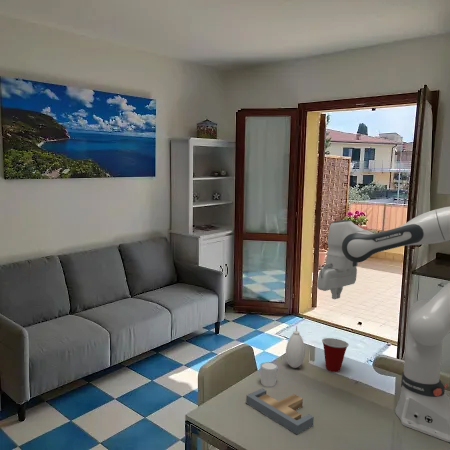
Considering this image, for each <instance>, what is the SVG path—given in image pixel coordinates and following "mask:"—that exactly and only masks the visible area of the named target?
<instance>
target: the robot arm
mask: <svg viewBox="0 0 450 450" xmlns="http://www.w3.org/2000/svg"><path fill="white" fill-rule="evenodd" d="M449 241H450V206H444V207H441V208H436V209H433V210H430V211H426V212H424V213H421V214H419V215H417V216H415V217H413V218H411V219H410V220H408V221H407V222H405V223H403V224H402V225H400V226H398V227H395V228H391V229H387V230H383V231H379V232H376V233H375V232H372V231H370V230H368V229H365V228H362V227H360V226H358V225H357V224H355V223H354V222H353V221H352V220H350V219H340V220H335V221H332V223H330V225H329V229H328V234H327V251H326V260H325V261H326V262H325V263H326V264H324V265H323V266H321V268H320V270H319V272H318V277H317V283H316V287H317V289H318V290H319V291H323V292H327V291H330V293H331V299H332V300H338V299H340V298H341V294H342V292H343V289H344V287H348V286H351V285H354V284H356V281H357V274H358V269H357V267H358V266H359V265H358V264H359V263H362V262H364V261H366V260H368V259H369V258H370V257H371V256H372V255H375V254H377V253H381V252H384V251H388V250H392V249H396V248H400V247H407V246H417V245H419V246H420V245H433V244H439V243H440V244H441V243H444V242H445V243H446V242H449ZM449 334H450V281H449V282H448V283H446V284H445V285H443V286H442V288H441V289H440V290H439V291H437V293H436V294H435V295H434V296H433V297H432V298H430V299H427V298H424V299H423V298H422V299H418V300H417V301H415V302H414V303H413V304H412V305H411V306H410V307H409V309H408V317H407V329H406V339H405V340H406V341H405V343H406V344H405V354H404V355H405V356H404V366H403V370H402V373H401V380H400V387H401V389H400V394H399V395H400V396H399V398H398V402H397V404H396V406H395V409H394V412H395V414H396V416H397V417H398V418H399V419H400V423H401V425H403V426H404V427H407V428H410V429H412V430H415V431H417V432H421V433H424V434H426V435H429V436H431V437H433V438H436V439H440V440H442V441H444V442H447V443H450V397H449V396H448V395H447V394H446V389H447V388H448V387H447V386H448V385H447V383H445V384H443V382H442V381H441V379H440V378H441V371H442V370H441V369H442V360H443V359H442V358H443V340H444V339H445V338H446V337H447V336H448V335H449Z"/></svg>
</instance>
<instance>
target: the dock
mask: <svg viewBox="0 0 450 450" xmlns="http://www.w3.org/2000/svg"><path fill="white" fill-rule="evenodd" d="M265 394H267V390H266V389H265V388H260V389H258V390H255V391H253V392H251V393H248V394H246V396H245V399H246V400H245V402H246V404H247V405H248V406H250V407H252V408H253V409H255V410H256V411H258V412H260V413H261V414H263V415H264V416H265V417H268V418H269V419H271V420H273V421H274V422H276V423H277V424H279V425H280V426H282V427H284V428H286V429H287V430H289V431H291V432H292V433H293V434H295V435H299V434H301V433H303V432H304V431H306V430H309V427H310V428H312V427H313V426H314V421H315V420H314V419H315V417H314V416H313V415H311V414H310V413H308V414H306V415H304V416H301V418H300V419H299V420H295V419H293V418H292V417H290V416H288V415H287V414H285V413H283V412H282V411H280V410H278V409H276V408H275V407H273V406H271V405H270V404H268V403H266V402H264V401H263V400H261V399H259V398H258V397H260V396H263V395H265ZM312 425H313V426H312ZM302 431H303V432H302ZM300 432H301V433H300Z"/></svg>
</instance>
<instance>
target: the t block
mask: <svg viewBox="0 0 450 450" xmlns="http://www.w3.org/2000/svg"><path fill="white" fill-rule="evenodd" d="M258 398H259V399H261V400H263V401H264V402H266V403H268V404H270V405H271V406H273V407H275V408H276V409H278V410H280V411H282V412H283V413H285V414H287V415H288V416H290V417H292V418H293V419H295V420H299V419H300V418H302V413H300V412H298V411H297V410H298V408H299V409H301V408H303V402H304V399H303V397H301V396H299V395H297V394H295V393H293V394H291V395H288V396H286V397H284V398H283V399H280V400H277V399H276V398H274V397H272V396H270V395H269V394H267V393H266V394H265V395H263V396H260V397H258ZM300 407H301V408H300ZM296 409H297V410H296Z"/></svg>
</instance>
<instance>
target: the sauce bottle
mask: <svg viewBox="0 0 450 450" xmlns="http://www.w3.org/2000/svg"><path fill="white" fill-rule="evenodd" d="M305 352H306V349H305V344H304V339H303V338H302V336H301V334H300V331H298V325H296V326H295V330H294V331H292V334H291V335H290V337H289V339H288V341H287V343H286V347H285V359H286V361H287V362H286V363H287V364H288V365H289V366H290V367H291V368H293V369H297V368H299V367H300V366H301V365H302V364H303V362H304V361H305V354H306V353H305Z"/></svg>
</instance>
